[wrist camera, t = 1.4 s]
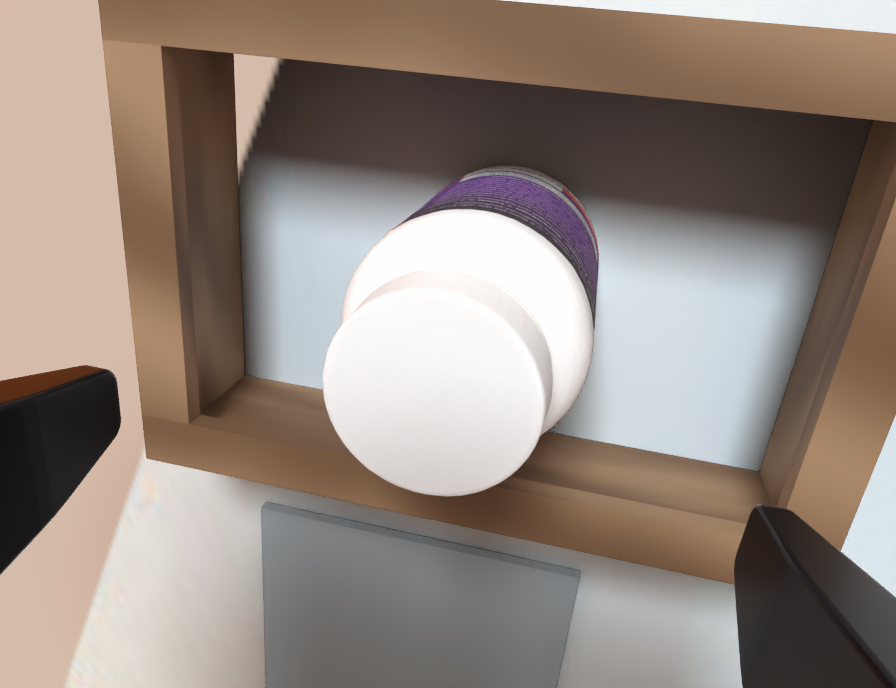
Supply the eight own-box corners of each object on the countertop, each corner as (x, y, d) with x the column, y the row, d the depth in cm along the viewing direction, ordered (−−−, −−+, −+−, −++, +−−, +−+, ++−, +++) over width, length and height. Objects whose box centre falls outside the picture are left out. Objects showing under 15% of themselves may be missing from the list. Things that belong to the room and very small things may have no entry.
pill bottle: (423, 155, 20) (275, 230, 11) (611, 170, 19) (613, 265, 10) (417, 327, 22) (289, 505, 13) (586, 349, 21) (569, 555, 12)
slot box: (778, 497, 21) (819, 602, 17) (225, 391, 25) (146, 458, 20) (933, 50, 16) (1043, 46, 12) (205, -14, 19) (94, -34, 15)
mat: (533, 790, 29) (532, 799, 29) (270, 718, 31) (266, 726, 31) (580, 570, 24) (579, 578, 24) (265, 502, 26) (261, 508, 26)
